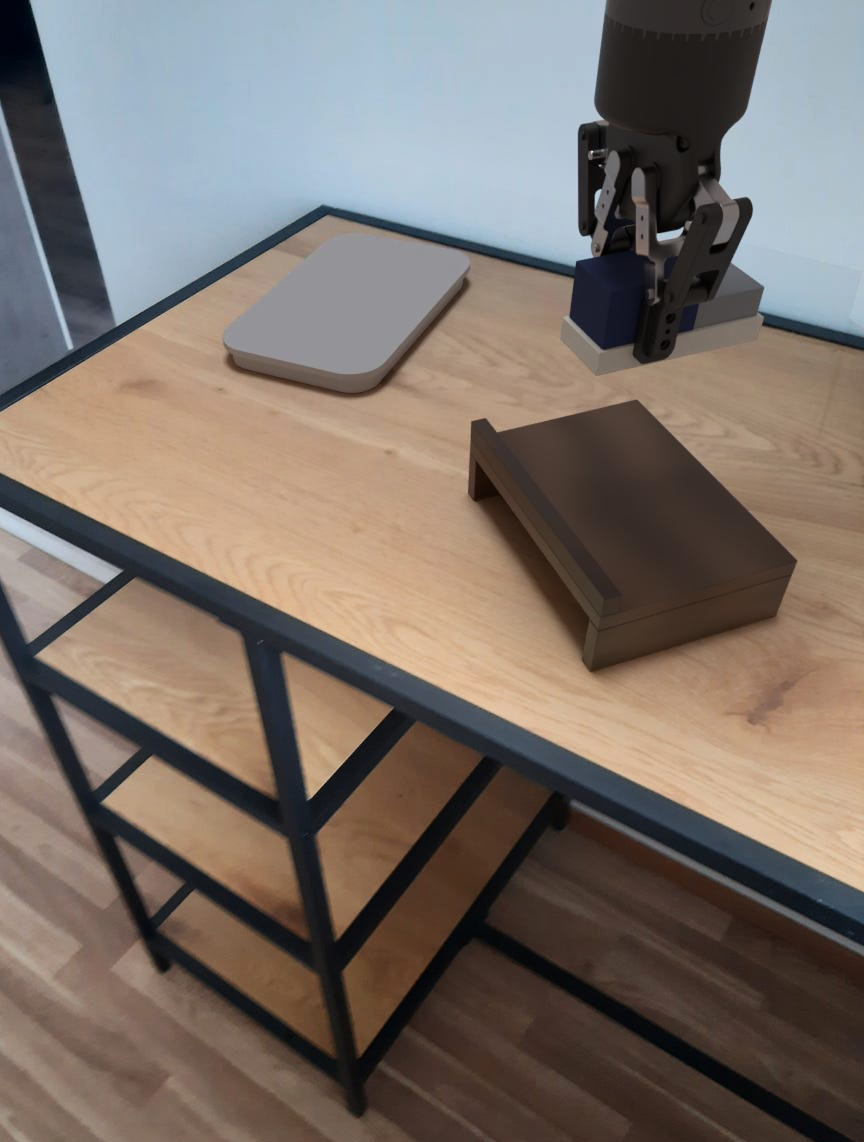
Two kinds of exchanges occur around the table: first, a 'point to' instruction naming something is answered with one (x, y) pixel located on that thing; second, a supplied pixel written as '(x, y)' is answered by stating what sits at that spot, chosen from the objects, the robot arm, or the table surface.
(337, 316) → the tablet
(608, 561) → the dark wooden stand
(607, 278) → the stacked block set
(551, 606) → the table surface
